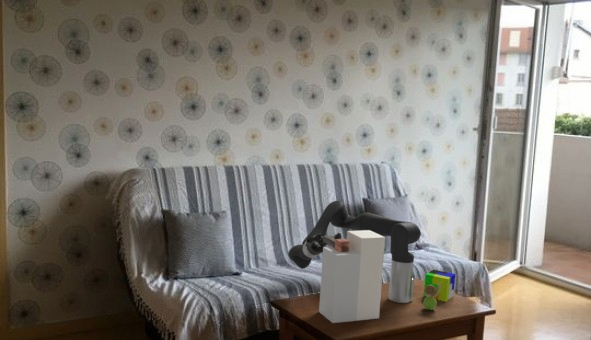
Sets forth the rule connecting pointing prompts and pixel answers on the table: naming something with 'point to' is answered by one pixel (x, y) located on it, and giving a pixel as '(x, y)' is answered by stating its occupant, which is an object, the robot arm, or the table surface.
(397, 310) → the table surface
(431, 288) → the snail figurine
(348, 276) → the step stand
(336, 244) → the marker bar
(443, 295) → the puzzle toy
